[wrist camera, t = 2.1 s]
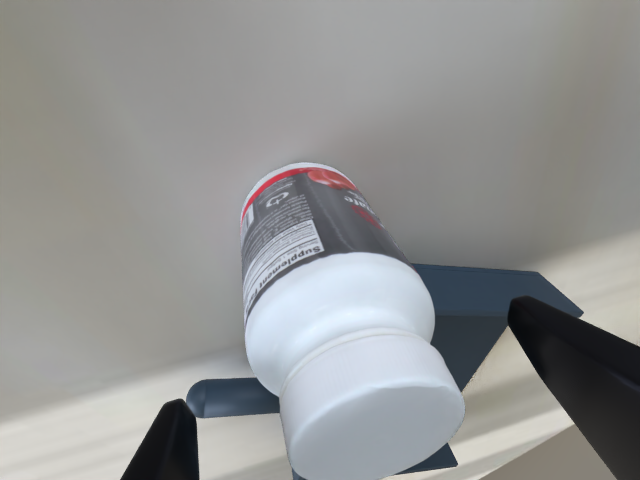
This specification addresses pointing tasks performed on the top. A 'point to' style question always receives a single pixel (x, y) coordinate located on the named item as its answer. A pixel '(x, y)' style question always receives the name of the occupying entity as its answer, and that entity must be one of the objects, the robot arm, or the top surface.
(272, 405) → the dustpan
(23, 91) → the top surface
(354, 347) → the pill bottle
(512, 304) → the robot arm
